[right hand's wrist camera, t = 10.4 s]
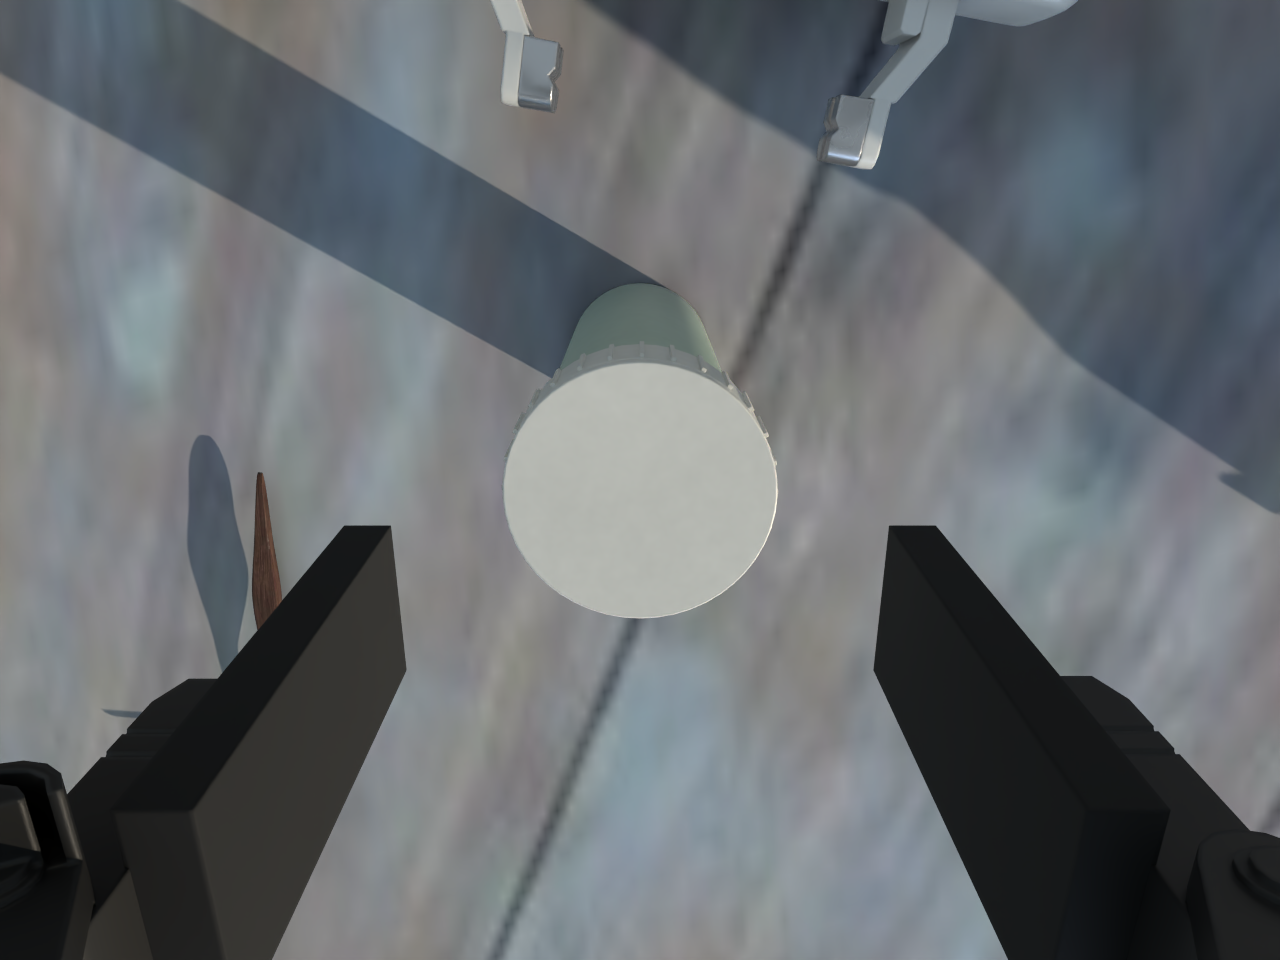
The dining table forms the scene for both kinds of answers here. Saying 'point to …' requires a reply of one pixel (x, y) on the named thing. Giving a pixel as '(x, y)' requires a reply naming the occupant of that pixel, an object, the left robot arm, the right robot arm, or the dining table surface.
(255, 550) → the fork
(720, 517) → the lid
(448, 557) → the dining table surface
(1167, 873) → the right robot arm
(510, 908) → the dining table surface
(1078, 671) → the dining table surface
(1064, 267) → the dining table surface
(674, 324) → the jar
